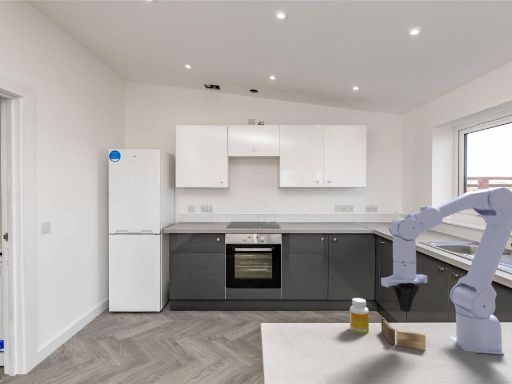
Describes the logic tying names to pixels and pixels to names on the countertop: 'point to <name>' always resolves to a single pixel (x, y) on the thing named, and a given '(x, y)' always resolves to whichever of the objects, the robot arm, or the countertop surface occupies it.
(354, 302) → the supplement bottle
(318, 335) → the countertop surface
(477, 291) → the robot arm
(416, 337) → the wooden flat block
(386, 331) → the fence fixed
